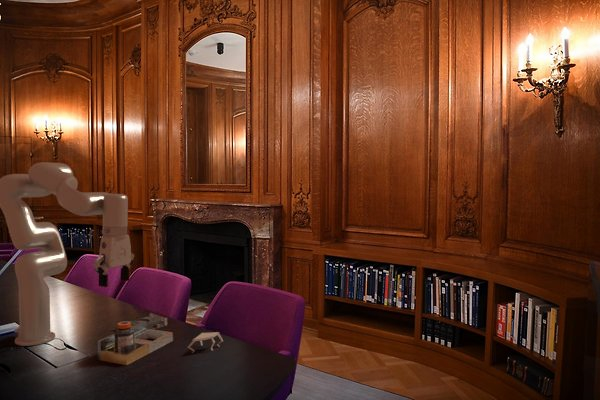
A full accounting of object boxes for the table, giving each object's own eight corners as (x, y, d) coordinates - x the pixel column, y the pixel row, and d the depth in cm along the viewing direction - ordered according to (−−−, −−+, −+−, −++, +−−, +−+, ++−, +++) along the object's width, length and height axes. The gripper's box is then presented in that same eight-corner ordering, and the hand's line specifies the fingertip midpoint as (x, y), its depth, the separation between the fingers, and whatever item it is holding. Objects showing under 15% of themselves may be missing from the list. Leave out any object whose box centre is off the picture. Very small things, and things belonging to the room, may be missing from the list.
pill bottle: (118, 353, 152) (117, 320, 152) (136, 353, 153) (136, 319, 152) (112, 360, 146) (111, 325, 146) (131, 360, 147) (131, 325, 146)
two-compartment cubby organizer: (96, 359, 147) (96, 341, 147) (145, 336, 169) (145, 320, 169) (126, 365, 143) (126, 346, 143) (172, 340, 165) (172, 324, 165)
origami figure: (205, 342, 164) (205, 328, 164) (224, 346, 160) (224, 332, 159) (181, 353, 153) (181, 338, 153) (200, 358, 149) (200, 343, 149)
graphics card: (151, 311, 190) (167, 317, 182) (152, 320, 191) (167, 326, 182) (112, 321, 178) (127, 327, 170) (112, 331, 178) (127, 337, 170)
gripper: (104, 235, 141) (103, 290, 142) (142, 229, 157) (141, 279, 158) (85, 233, 144) (84, 287, 145) (124, 228, 160) (124, 276, 161)
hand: (114, 283), depth 151 cm, fingers open, 9 cm apart
